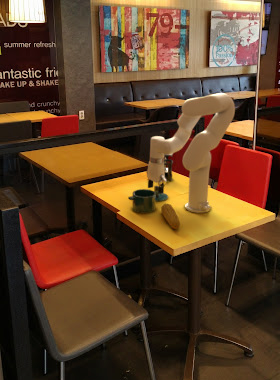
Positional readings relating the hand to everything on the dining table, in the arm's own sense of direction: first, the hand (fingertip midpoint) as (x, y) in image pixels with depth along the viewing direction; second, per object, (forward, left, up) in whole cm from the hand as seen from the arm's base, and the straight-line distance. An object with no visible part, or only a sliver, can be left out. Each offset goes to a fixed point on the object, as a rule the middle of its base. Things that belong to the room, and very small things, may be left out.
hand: (155, 190), depth 212 cm
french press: (+22, -22, -5) cm, 32 cm away
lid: (-1, 0, -4) cm, 4 cm away
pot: (-10, +14, -4) cm, 17 cm away
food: (-29, +11, -5) cm, 31 cm away
